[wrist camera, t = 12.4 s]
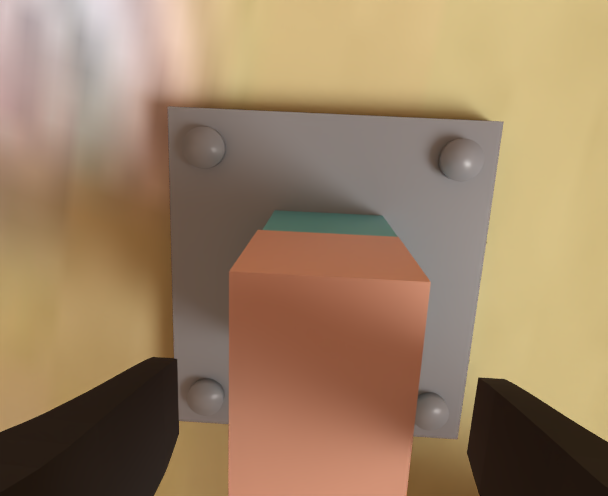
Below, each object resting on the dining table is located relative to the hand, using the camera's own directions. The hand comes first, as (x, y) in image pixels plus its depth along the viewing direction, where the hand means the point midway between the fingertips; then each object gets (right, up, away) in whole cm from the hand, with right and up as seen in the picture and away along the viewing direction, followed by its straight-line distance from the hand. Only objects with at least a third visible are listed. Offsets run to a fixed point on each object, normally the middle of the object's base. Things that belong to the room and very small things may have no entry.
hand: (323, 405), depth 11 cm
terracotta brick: (0, +1, +4) cm, 4 cm away
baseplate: (0, +2, +10) cm, 10 cm away
